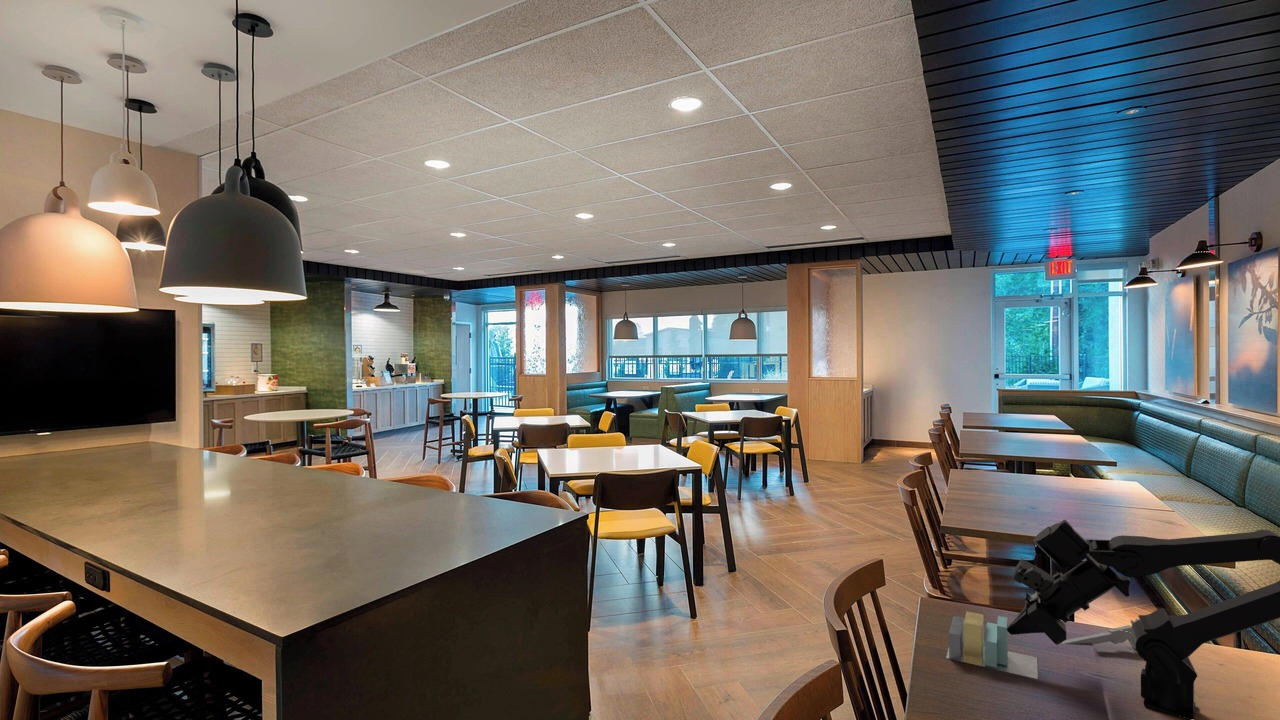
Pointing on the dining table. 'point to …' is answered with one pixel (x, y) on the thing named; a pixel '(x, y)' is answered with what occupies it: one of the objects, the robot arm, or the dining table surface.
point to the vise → (956, 652)
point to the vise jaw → (996, 642)
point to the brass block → (973, 636)
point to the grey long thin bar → (1106, 636)
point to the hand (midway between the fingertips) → (1008, 631)
